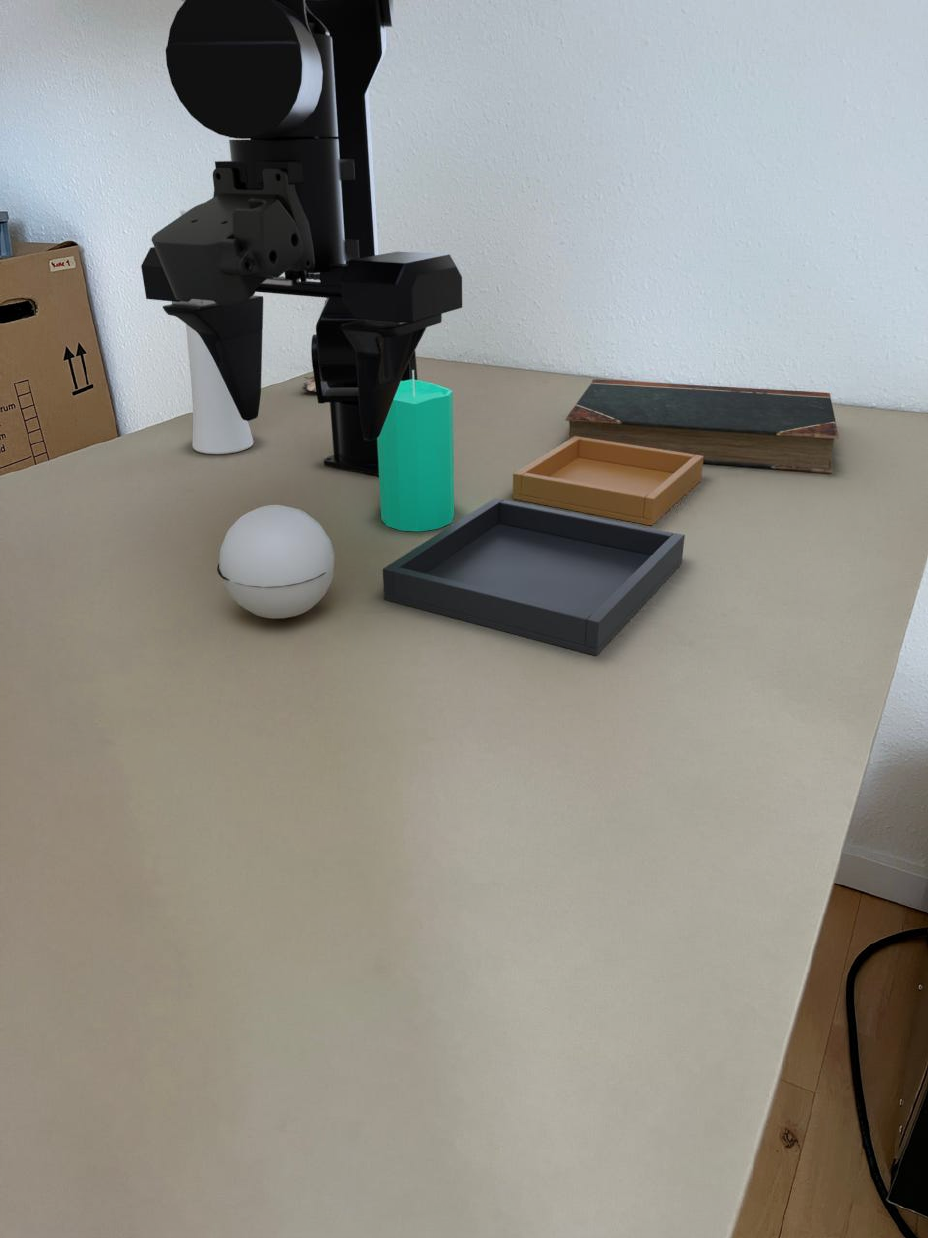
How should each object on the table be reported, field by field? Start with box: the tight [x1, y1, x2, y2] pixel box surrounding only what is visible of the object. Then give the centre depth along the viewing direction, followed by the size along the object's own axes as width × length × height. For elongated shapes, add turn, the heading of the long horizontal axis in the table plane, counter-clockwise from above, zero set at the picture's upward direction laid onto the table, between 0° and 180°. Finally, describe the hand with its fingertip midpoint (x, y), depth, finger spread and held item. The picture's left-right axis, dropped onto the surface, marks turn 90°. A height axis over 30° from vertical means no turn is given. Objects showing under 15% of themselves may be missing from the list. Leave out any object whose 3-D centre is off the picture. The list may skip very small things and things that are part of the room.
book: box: [564, 378, 840, 474], centre depth 95 cm, size 17×4×25 cm
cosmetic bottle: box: [179, 208, 255, 455], centre depth 90 cm, size 6×6×22 cm
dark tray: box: [382, 497, 686, 656], centre depth 66 cm, size 16×16×2 cm
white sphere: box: [216, 504, 335, 620], centre depth 59 cm, size 10×7×7 cm
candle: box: [377, 370, 455, 532], centre depth 74 cm, size 6×6×12 cm
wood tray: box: [512, 436, 704, 527], centre depth 82 cm, size 13×13×2 cm
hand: (308, 428), depth 57 cm, fingers open, 9 cm apart
